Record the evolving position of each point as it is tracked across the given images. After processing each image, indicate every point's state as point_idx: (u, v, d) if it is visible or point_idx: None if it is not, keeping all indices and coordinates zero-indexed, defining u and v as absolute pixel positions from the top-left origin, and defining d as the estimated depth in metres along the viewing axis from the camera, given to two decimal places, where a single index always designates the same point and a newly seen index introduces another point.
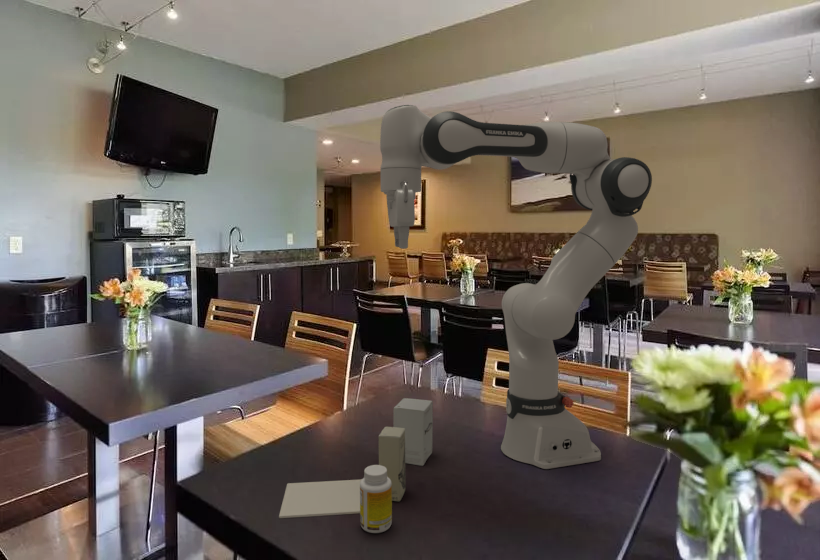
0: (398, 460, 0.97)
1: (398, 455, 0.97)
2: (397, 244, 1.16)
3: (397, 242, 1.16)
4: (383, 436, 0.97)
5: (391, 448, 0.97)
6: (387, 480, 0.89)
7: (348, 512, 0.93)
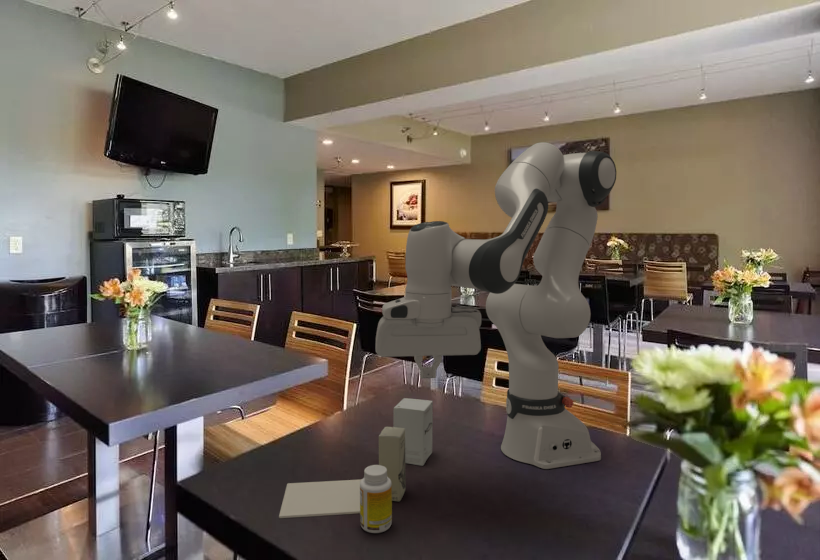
0: (398, 460, 0.97)
1: (398, 455, 0.97)
2: None
3: None
4: (383, 436, 0.97)
5: (391, 448, 0.97)
6: (387, 480, 0.89)
7: (348, 512, 0.93)
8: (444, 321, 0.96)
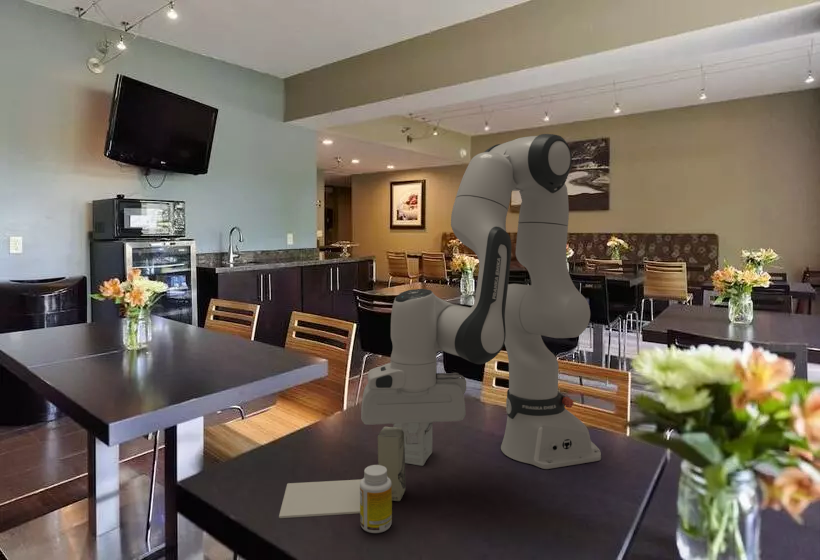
0: (397, 460, 0.97)
1: (397, 455, 0.97)
2: None
3: None
4: (382, 436, 0.97)
5: (390, 448, 0.97)
6: (387, 480, 0.89)
7: (348, 512, 0.93)
8: (429, 389, 0.97)
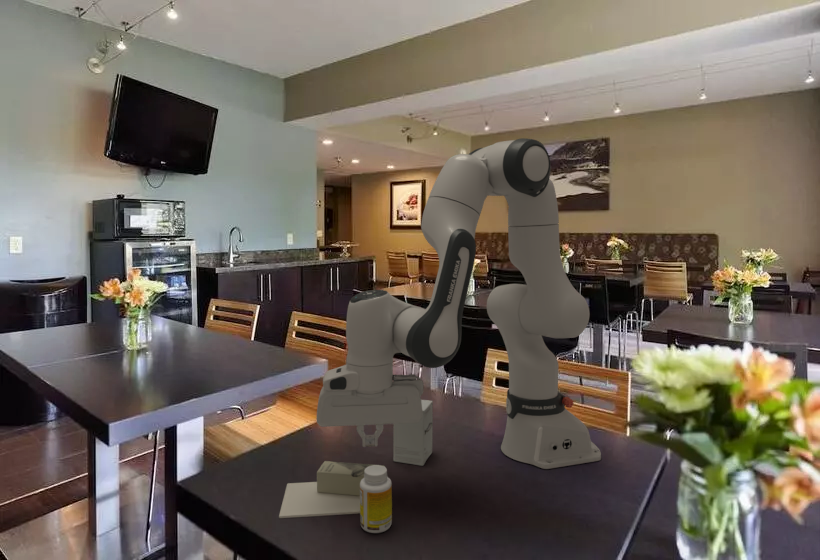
0: (339, 475, 0.99)
1: (334, 474, 0.99)
2: None
3: None
4: (317, 488, 1.00)
5: (327, 481, 1.00)
6: (387, 480, 0.89)
7: (348, 512, 0.93)
8: (385, 391, 0.96)
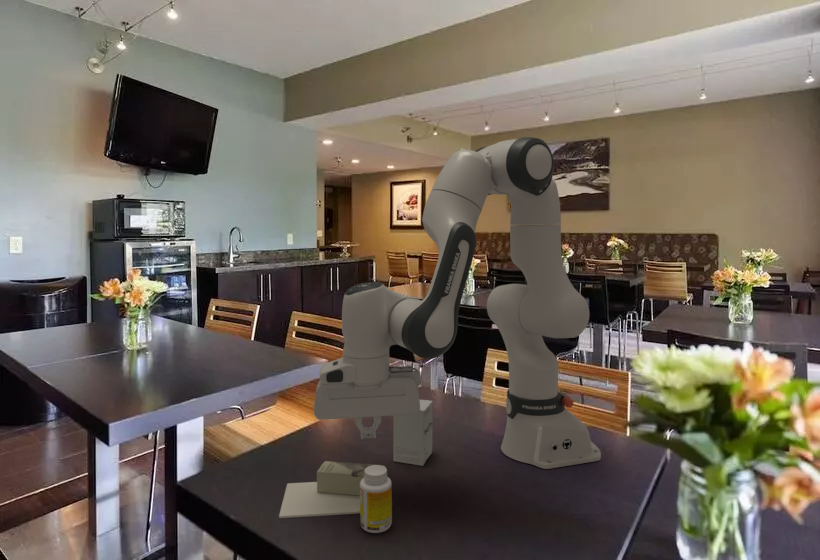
0: (339, 475, 0.99)
1: (334, 474, 0.99)
2: (367, 435, 0.98)
3: None
4: (317, 487, 1.00)
5: (327, 480, 1.00)
6: (387, 480, 0.89)
7: (348, 512, 0.93)
8: (382, 383, 0.96)
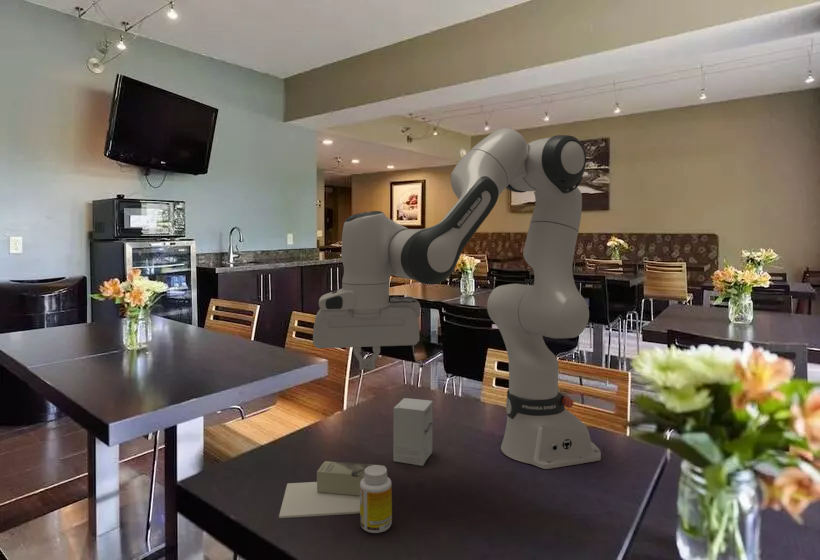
0: (339, 475, 0.99)
1: (334, 474, 0.99)
2: None
3: None
4: (317, 487, 1.00)
5: (327, 480, 1.00)
6: (387, 480, 0.89)
7: (348, 512, 0.93)
8: (381, 312, 0.96)
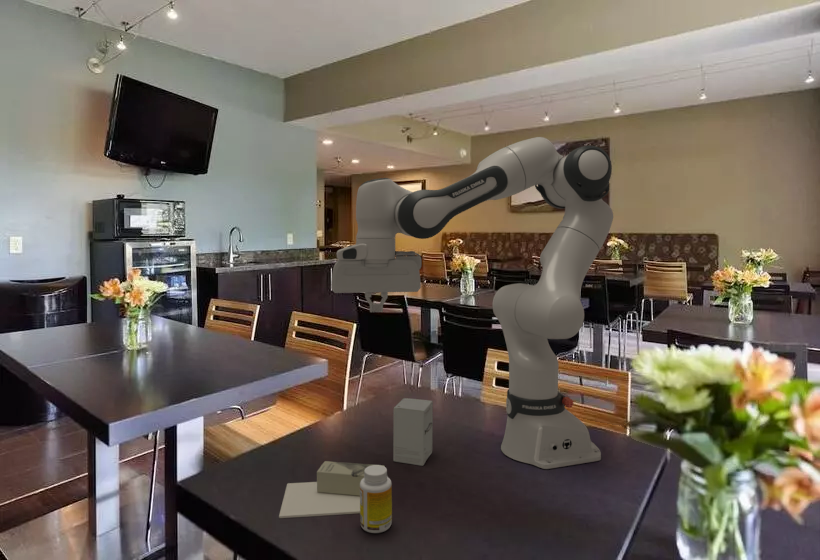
0: (339, 475, 0.99)
1: (334, 474, 0.99)
2: None
3: (376, 307, 1.16)
4: (317, 487, 1.00)
5: (327, 480, 1.00)
6: (387, 480, 0.89)
7: (348, 512, 0.93)
8: (389, 263, 1.14)
